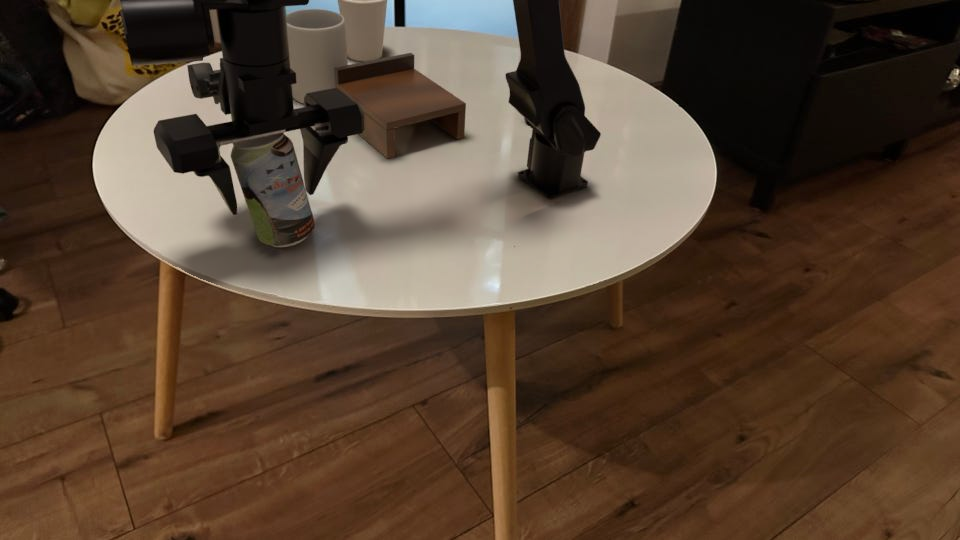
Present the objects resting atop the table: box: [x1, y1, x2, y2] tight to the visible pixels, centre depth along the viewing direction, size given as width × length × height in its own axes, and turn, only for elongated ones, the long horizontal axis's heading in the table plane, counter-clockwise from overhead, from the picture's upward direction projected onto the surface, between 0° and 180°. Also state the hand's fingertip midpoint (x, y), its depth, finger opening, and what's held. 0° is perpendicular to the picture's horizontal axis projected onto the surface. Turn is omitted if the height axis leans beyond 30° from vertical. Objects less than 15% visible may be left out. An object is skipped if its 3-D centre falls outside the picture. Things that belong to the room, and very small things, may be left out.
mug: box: [286, 8, 349, 105], centre depth 99 cm, size 12×8×11 cm
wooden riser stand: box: [334, 52, 467, 159], centre depth 94 cm, size 14×12×7 cm
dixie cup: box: [337, 0, 388, 62], centre depth 112 cm, size 8×8×10 cm
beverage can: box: [230, 132, 316, 248], centre depth 71 cm, size 6×7×12 cm
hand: (272, 202), depth 71 cm, fingers closed on beverage can, 8 cm apart
